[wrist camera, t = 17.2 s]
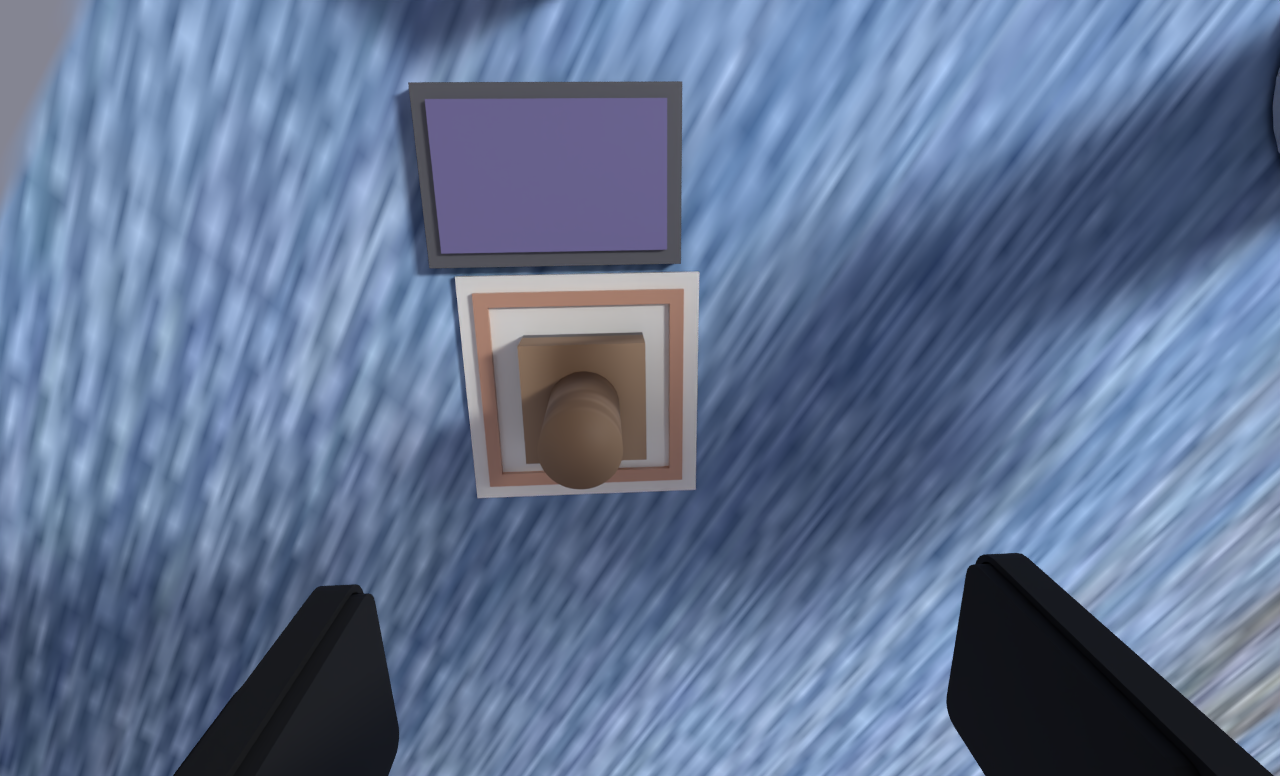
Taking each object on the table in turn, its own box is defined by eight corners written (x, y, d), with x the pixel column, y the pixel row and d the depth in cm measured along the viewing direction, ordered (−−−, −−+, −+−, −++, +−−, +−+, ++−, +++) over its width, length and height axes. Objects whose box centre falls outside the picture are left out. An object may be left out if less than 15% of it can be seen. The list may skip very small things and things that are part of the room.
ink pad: (679, 84, 28) (683, 80, 27) (678, 261, 31) (681, 264, 30) (414, 86, 28) (406, 81, 26) (434, 266, 30) (427, 268, 29)
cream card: (698, 271, 31) (700, 272, 30) (695, 487, 34) (696, 492, 34) (456, 276, 30) (453, 277, 30) (478, 495, 34) (476, 500, 33)
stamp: (642, 332, 31) (655, 376, 24) (643, 441, 33) (656, 514, 26) (523, 335, 31) (497, 380, 23) (531, 445, 33) (510, 521, 25)
